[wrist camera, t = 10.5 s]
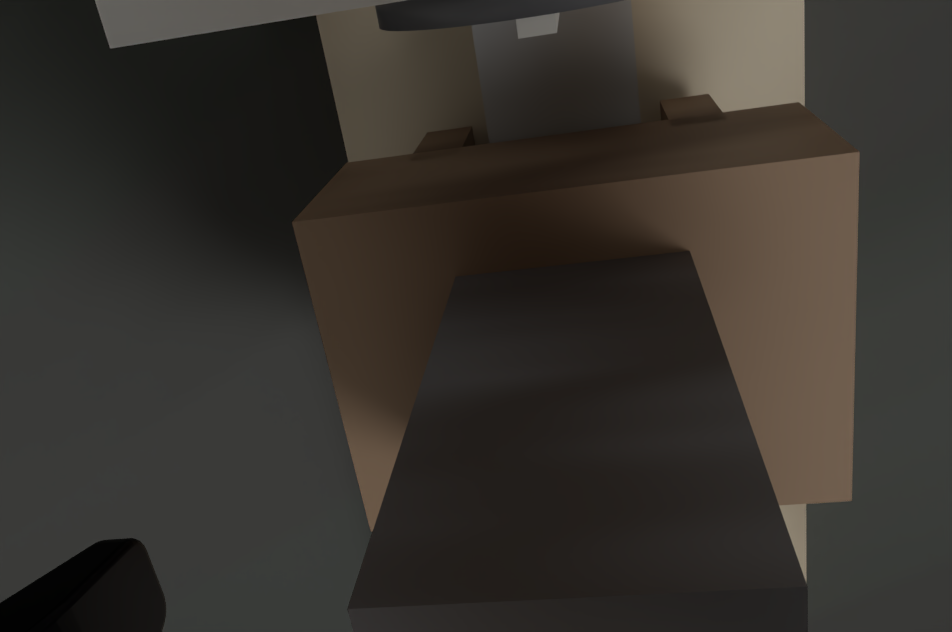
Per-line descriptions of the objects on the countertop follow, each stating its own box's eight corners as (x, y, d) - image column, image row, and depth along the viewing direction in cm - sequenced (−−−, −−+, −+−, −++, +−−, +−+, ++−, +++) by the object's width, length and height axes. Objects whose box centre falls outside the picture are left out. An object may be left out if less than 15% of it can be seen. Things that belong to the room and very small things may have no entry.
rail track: (779, -380, 13) (832, -457, 10) (791, 624, 21) (823, 728, 18) (279, -270, 14) (210, -313, 12) (470, 637, 22) (456, 737, 20)
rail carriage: (777, 84, 14) (1191, 424, 5) (781, 353, 16) (1077, 974, 7) (366, 140, 15) (28, 508, 6) (418, 386, 17) (230, 959, 8)
